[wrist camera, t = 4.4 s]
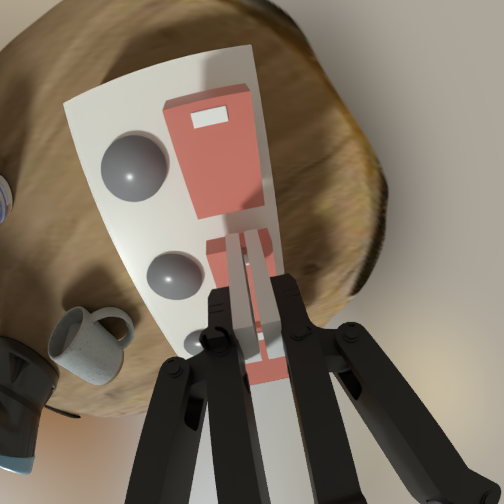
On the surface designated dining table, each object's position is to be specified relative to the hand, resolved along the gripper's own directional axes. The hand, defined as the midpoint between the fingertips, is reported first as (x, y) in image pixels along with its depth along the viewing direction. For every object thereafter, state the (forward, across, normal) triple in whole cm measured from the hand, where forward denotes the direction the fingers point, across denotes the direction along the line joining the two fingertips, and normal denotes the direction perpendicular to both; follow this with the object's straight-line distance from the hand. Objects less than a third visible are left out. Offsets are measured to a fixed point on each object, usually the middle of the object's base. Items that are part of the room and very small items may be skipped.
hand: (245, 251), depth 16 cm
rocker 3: (+1, 0, -12) cm, 13 cm away
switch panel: (+8, -4, -6) cm, 11 cm away
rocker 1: (+1, 0, +6) cm, 6 cm away
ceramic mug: (+8, -20, -12) cm, 25 cm away
